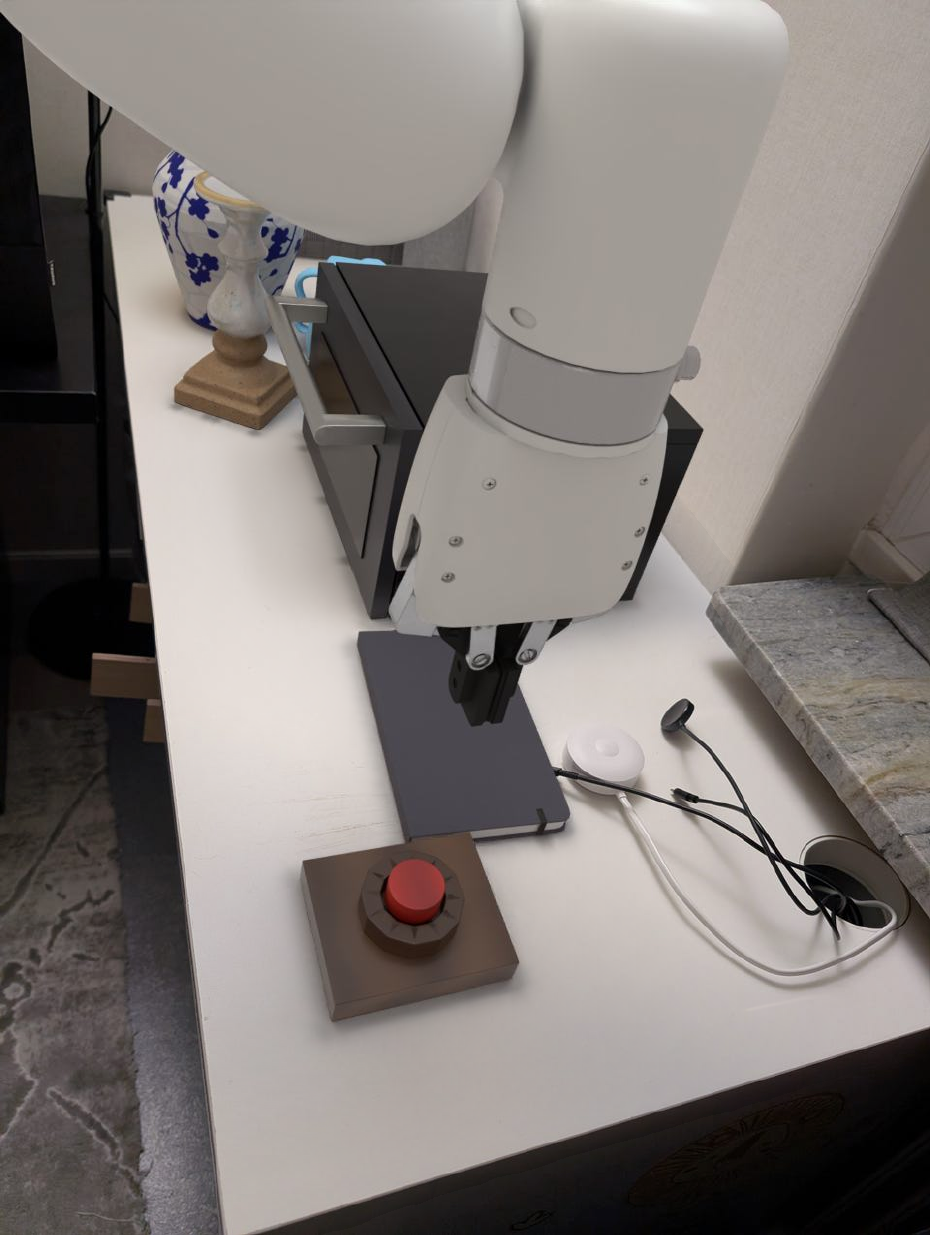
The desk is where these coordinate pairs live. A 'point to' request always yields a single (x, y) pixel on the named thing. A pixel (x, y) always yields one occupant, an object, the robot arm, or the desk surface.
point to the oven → (442, 347)
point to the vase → (211, 238)
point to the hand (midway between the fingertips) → (476, 703)
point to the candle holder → (237, 324)
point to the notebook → (455, 749)
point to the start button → (414, 891)
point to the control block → (403, 928)
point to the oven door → (351, 425)
